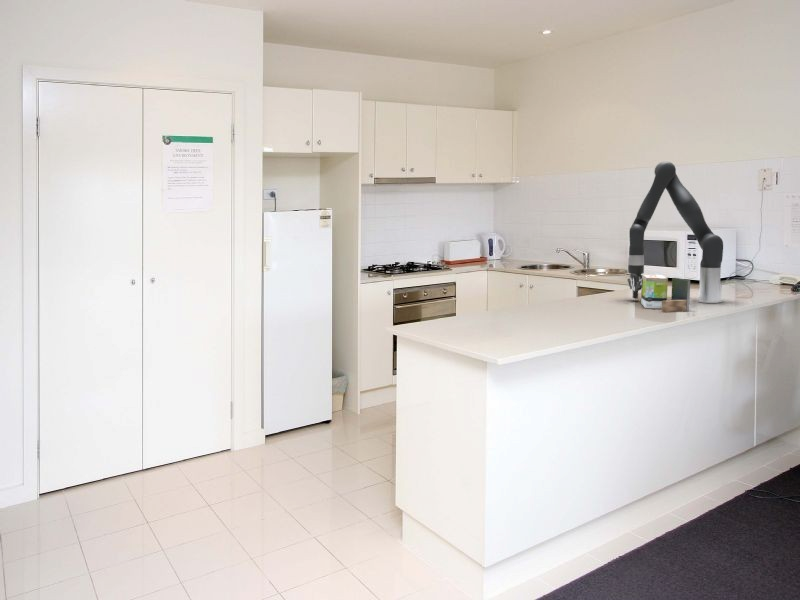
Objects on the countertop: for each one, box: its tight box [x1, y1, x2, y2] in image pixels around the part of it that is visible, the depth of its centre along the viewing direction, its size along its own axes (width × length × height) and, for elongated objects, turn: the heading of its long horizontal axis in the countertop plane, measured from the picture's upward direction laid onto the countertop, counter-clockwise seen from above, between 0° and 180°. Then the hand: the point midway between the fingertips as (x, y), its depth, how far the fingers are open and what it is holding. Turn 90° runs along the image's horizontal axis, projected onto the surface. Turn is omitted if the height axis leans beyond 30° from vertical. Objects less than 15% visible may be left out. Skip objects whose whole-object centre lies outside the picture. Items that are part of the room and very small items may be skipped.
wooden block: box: [661, 300, 688, 313], centre depth 318 cm, size 12×1×5 cm, turn 99°
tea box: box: [640, 274, 669, 309], centre depth 333 cm, size 15×10×15 cm, turn 168°
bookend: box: [671, 277, 691, 312], centre depth 323 cm, size 1×13×14 cm, turn 9°
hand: (635, 298), depth 351 cm, fingers closed
